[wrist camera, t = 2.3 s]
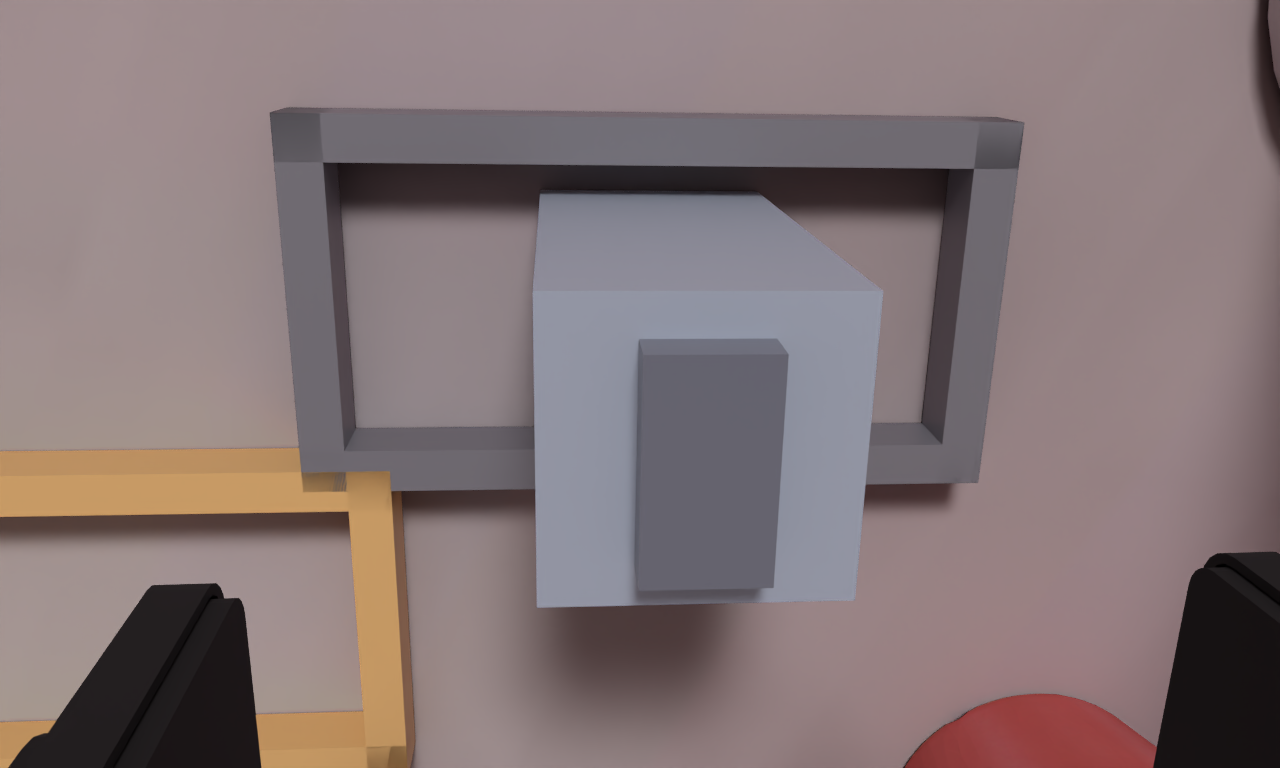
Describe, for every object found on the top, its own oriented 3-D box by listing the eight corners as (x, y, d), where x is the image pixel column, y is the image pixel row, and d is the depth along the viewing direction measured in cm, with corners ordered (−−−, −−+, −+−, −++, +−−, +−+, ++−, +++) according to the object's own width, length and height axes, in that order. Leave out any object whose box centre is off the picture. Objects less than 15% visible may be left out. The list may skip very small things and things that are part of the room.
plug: (756, 191, 25) (900, 304, 15) (746, 395, 26) (869, 627, 16) (540, 189, 24) (532, 304, 14) (542, 397, 26) (535, 635, 16)
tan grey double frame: (997, 117, 25) (1024, 122, 23) (923, 725, 30) (942, 760, 28) (-401, 97, 22) (-466, 103, 21) (-216, 762, 27) (-258, 801, 26)
